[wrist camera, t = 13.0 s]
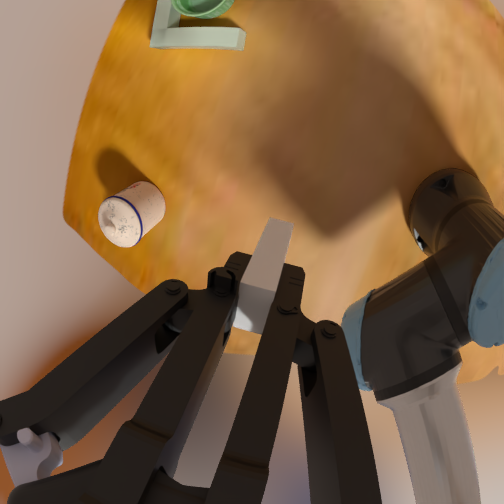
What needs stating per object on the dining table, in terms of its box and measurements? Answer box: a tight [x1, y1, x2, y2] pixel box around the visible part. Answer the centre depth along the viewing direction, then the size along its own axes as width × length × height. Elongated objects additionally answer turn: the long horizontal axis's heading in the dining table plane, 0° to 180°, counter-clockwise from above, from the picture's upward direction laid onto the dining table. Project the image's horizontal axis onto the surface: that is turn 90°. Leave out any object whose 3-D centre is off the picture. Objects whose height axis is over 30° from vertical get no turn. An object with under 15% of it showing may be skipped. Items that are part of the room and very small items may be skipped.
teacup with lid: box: [98, 181, 165, 247], centre depth 46 cm, size 12×9×12 cm
